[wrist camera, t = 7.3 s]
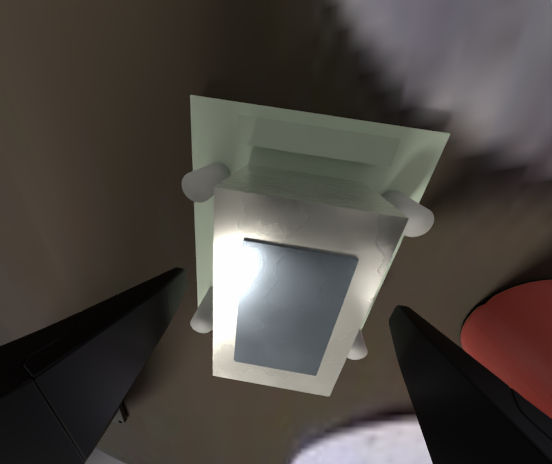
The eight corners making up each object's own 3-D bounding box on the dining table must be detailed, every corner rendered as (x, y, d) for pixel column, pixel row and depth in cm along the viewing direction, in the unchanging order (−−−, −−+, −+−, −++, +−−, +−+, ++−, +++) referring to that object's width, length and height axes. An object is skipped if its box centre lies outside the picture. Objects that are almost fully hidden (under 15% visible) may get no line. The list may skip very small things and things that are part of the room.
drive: (320, 318, 14) (329, 398, 10) (237, 304, 14) (212, 377, 10) (363, 182, 10) (410, 219, 6) (247, 164, 10) (212, 187, 6)
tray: (348, 338, 16) (361, 390, 13) (204, 313, 16) (181, 358, 13) (436, 133, 10) (503, 134, 6) (199, 97, 10) (154, 82, 7)
